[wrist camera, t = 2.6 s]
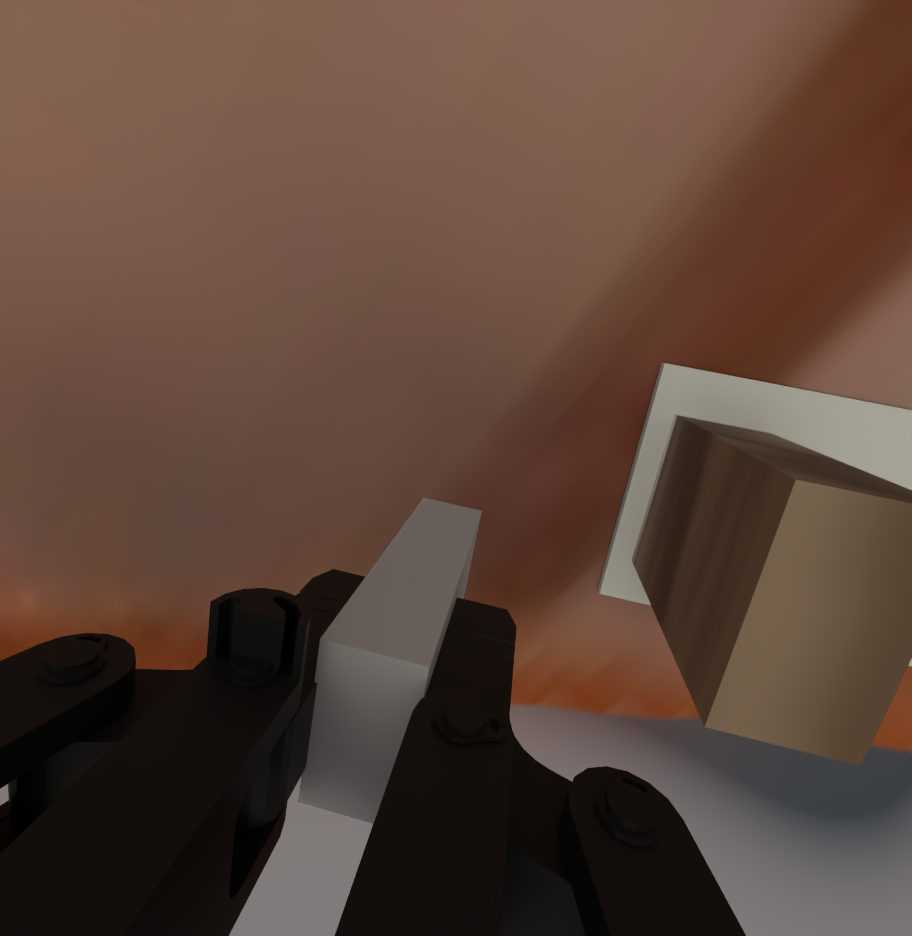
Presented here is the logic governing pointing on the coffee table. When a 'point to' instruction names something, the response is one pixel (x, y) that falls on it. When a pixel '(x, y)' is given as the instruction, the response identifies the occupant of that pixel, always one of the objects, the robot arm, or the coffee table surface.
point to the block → (779, 586)
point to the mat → (759, 408)
